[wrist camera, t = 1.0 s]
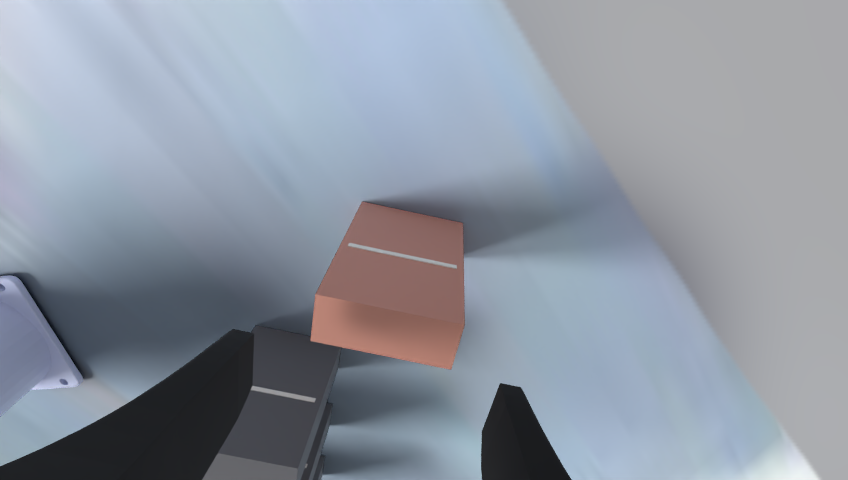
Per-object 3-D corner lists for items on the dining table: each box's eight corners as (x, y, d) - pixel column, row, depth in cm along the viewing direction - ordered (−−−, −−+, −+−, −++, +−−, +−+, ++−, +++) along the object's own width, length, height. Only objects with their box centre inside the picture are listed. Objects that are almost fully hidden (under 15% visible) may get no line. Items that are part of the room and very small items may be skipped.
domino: (255, 324, 26) (178, 444, 19) (342, 342, 26) (297, 468, 19) (254, 352, 27) (181, 476, 20) (337, 368, 27) (294, 498, 20)
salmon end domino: (362, 200, 22) (315, 293, 15) (463, 222, 22) (464, 324, 15) (356, 238, 23) (310, 341, 16) (453, 258, 23) (450, 370, 16)
